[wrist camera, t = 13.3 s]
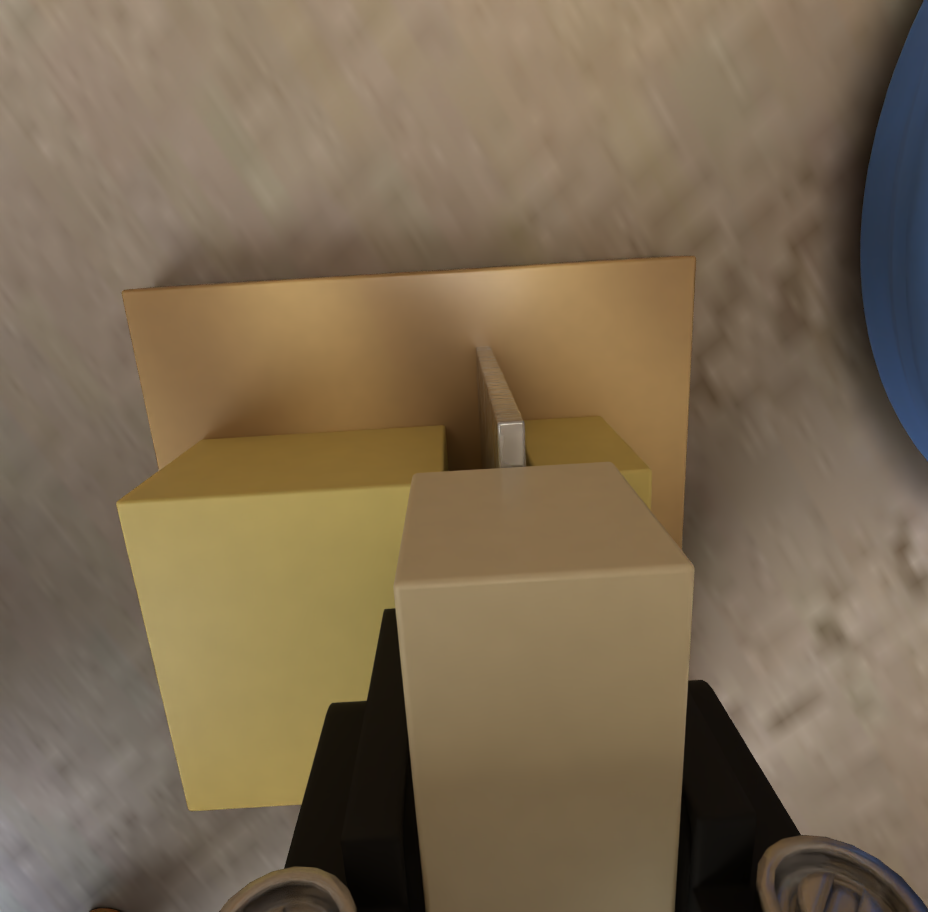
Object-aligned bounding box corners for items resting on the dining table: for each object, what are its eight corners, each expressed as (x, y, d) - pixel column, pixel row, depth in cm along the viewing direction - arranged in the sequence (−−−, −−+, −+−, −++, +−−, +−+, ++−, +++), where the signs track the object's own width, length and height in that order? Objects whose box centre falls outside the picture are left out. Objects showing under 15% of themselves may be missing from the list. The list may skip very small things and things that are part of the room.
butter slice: (522, 670, 15) (543, 791, 11) (513, 420, 13) (535, 475, 10) (600, 665, 15) (643, 784, 11) (601, 414, 13) (653, 469, 10)
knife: (454, 727, 15) (459, 1265, 7) (427, 349, 13) (386, 519, 4) (546, 722, 15) (656, 1251, 7) (538, 343, 13) (701, 500, 4)
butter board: (241, 756, 17) (225, 792, 16) (148, 287, 13) (119, 290, 12) (656, 731, 17) (671, 765, 16) (676, 256, 13) (697, 255, 12)
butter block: (247, 687, 15) (187, 813, 11) (200, 438, 13) (113, 501, 10) (462, 674, 15) (465, 796, 11) (445, 424, 13) (443, 482, 10)
